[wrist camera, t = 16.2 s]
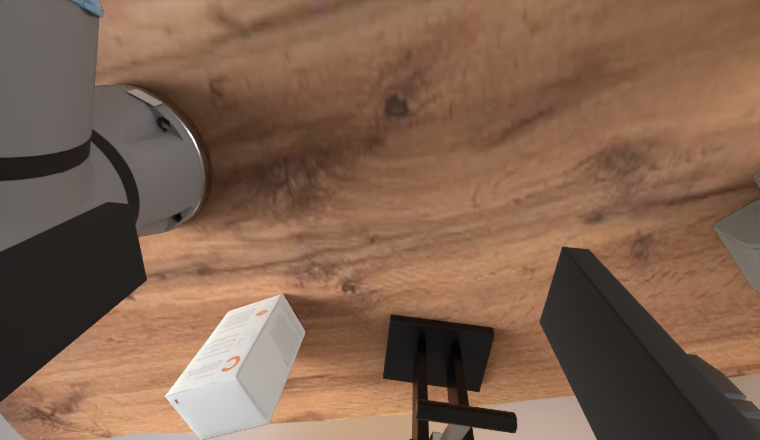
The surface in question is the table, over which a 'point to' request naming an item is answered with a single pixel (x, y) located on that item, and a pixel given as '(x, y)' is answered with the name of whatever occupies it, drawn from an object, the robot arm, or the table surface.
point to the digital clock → (744, 238)
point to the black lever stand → (437, 360)
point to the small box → (239, 370)
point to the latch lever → (463, 418)
